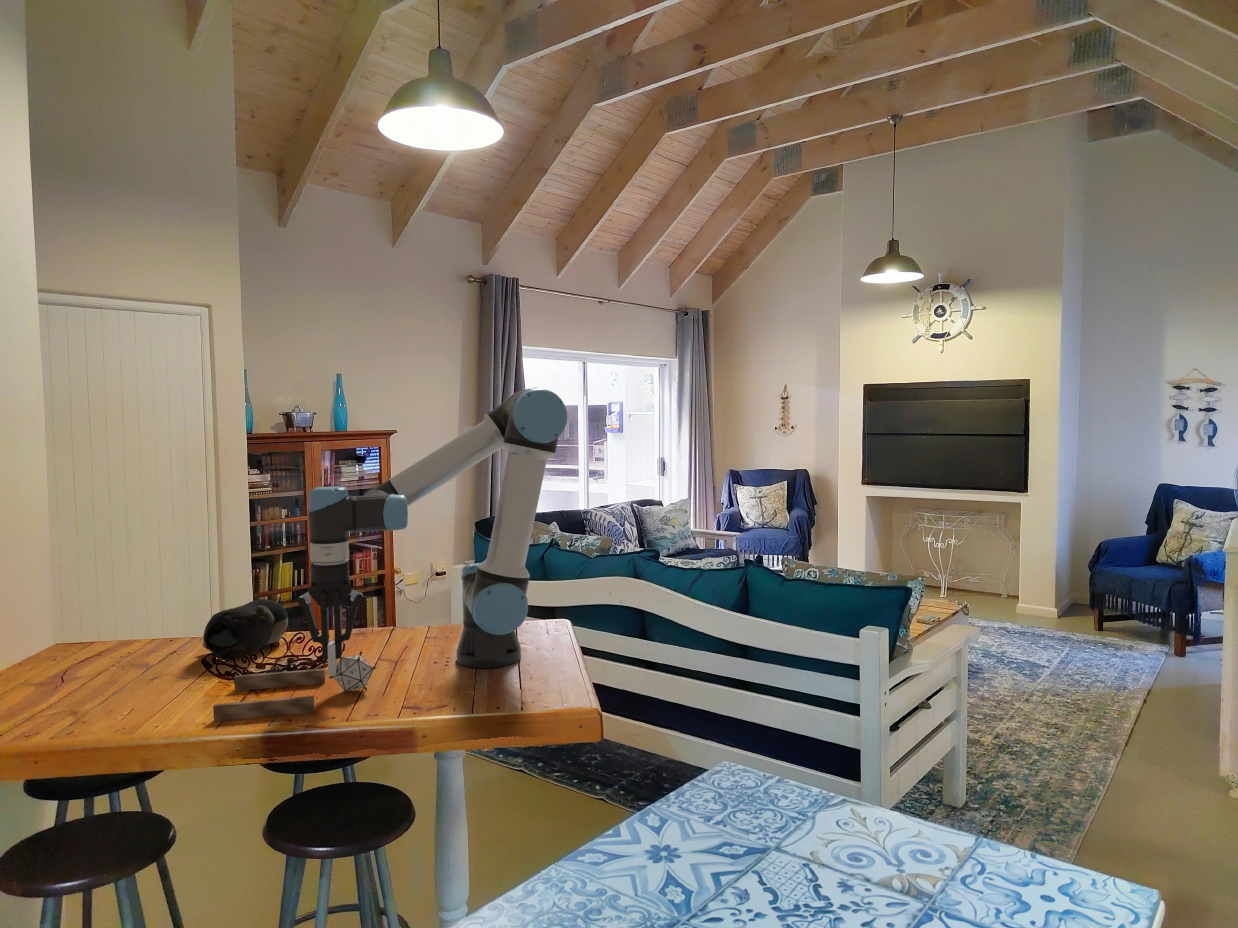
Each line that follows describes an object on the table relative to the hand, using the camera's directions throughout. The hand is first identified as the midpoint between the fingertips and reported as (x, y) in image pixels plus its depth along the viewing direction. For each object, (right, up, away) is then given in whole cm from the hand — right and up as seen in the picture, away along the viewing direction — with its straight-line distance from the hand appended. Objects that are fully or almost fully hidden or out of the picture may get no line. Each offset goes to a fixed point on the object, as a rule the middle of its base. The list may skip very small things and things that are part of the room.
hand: (332, 673), depth 165 cm
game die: (+3, -4, +2) cm, 6 cm away
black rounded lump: (-32, -3, +31) cm, 44 cm away
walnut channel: (-11, -5, -2) cm, 13 cm away
